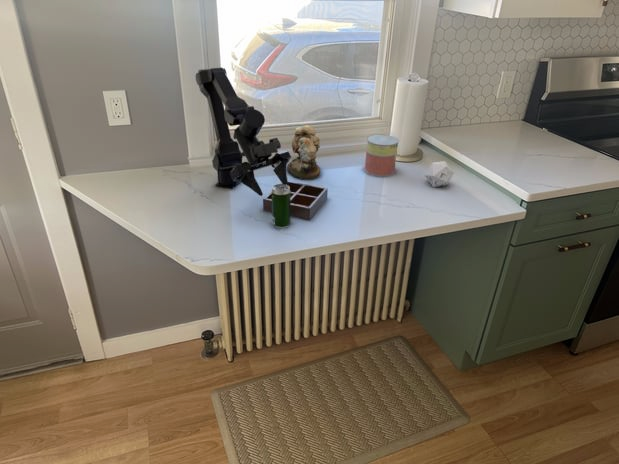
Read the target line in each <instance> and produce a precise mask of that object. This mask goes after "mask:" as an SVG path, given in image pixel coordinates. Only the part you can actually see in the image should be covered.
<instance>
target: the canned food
mask: <svg viewBox="0 0 619 464" xmlns="http://www.w3.org/2000/svg"><path fill="white" fill-rule="evenodd" d="M399 141H400V140H399V139H398V138H397V137H395V136H393V135H388V134H372V135H369V136H368V137H367V138H366V149H365V150H366V151H365V161H364V162H365V163H364V171H365V173H367V174H368V175H371V176H374V177H390V176H393V175H394V174H395V173H396V163H397V154H398V147H399Z"/></svg>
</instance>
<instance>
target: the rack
mask: <svg viewBox="0 0 619 464" xmlns="http://www.w3.org/2000/svg"><path fill="white" fill-rule="evenodd" d="M287 182H288V186H289V187H290V218H297V219H301V220H305V221H311V220H312V219H313V218H314V216H315V215H316V214H317V213H318V212H319V210H320V209H321V208H322V207H323V206H324V204H325V203H326V201H327V200H328V193H329V192H328V191H329V190H328V189H329V188H328V187H324V186H318V185H313V184H308V183H303V182H297V181H292V180H287ZM279 184H282V182H281V181H280V183H279ZM262 211H263V212H267V213H272V190H271V191H270V192H269V193H268V194H266V196H264V197H263V198H262Z"/></svg>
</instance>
